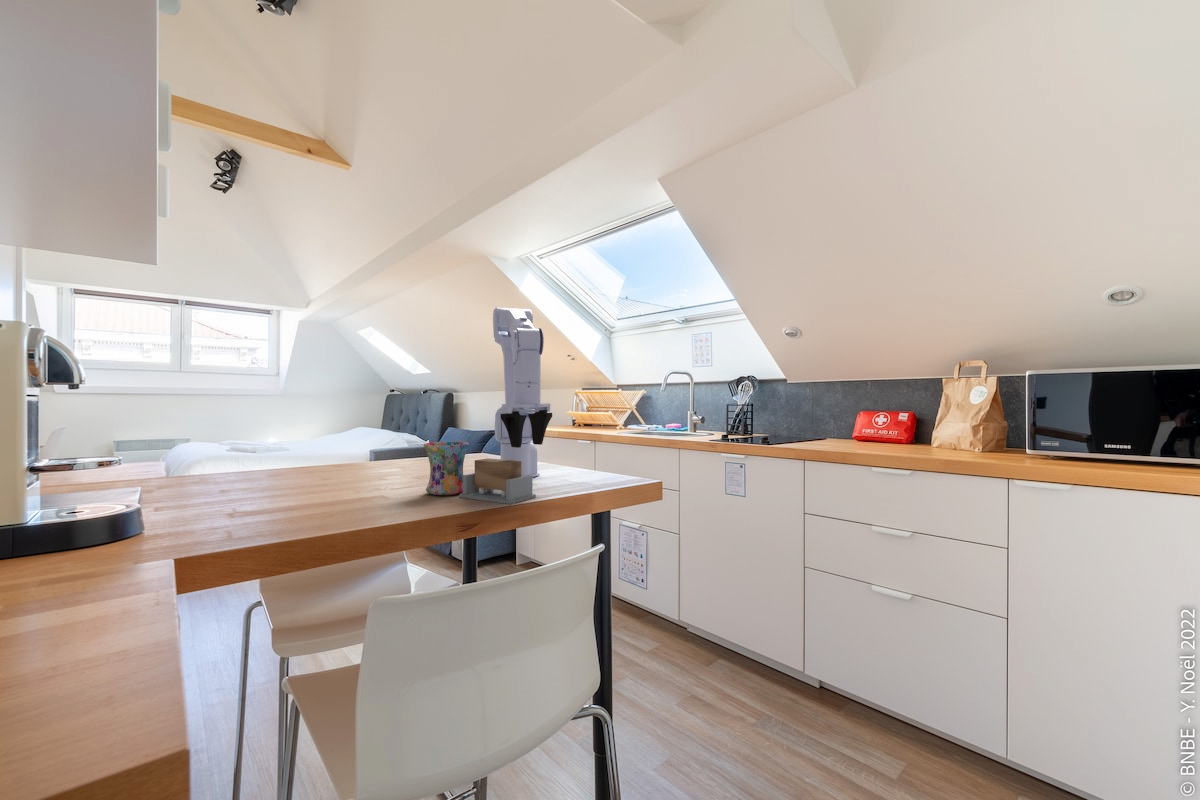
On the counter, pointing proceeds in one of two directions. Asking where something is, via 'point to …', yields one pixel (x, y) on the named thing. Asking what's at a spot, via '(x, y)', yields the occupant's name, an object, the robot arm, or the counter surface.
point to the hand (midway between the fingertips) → (527, 445)
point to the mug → (446, 467)
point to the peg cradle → (514, 491)
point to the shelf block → (495, 473)
